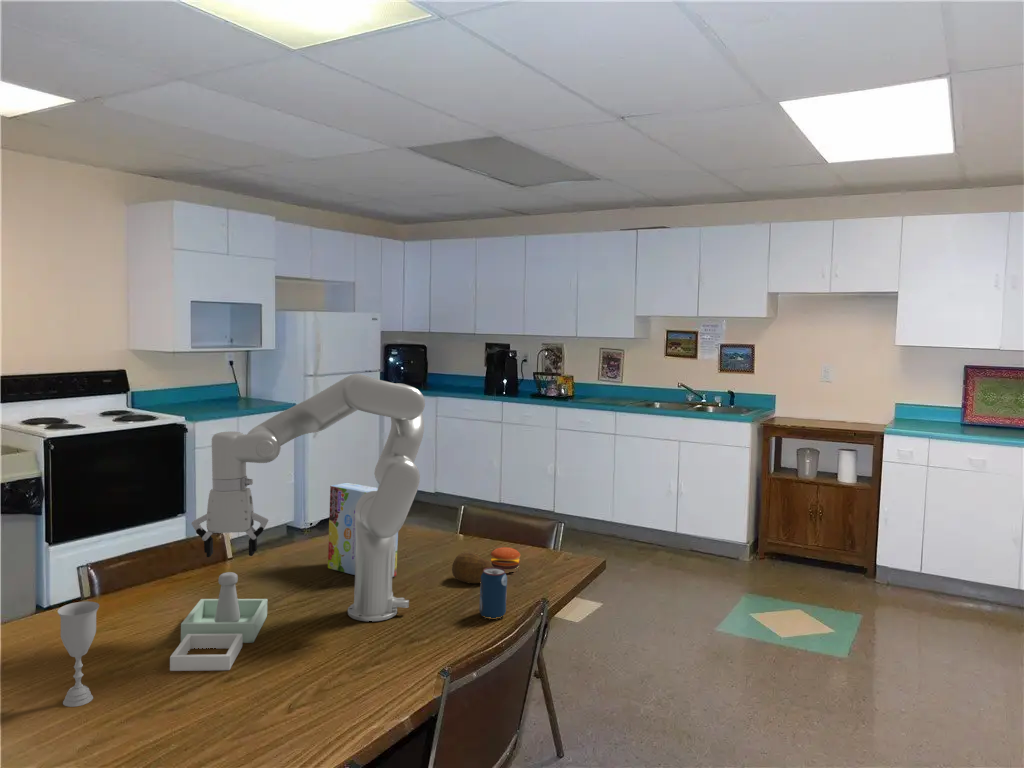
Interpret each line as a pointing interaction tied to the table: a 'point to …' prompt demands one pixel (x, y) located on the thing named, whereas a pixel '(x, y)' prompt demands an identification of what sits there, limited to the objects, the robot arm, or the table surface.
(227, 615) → the salt shaker
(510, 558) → the hamburger
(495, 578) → the soda can
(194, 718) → the table surface
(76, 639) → the chalice
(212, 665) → the grey square frame
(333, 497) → the snack box
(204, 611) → the green bin
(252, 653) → the table surface
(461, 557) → the potato
